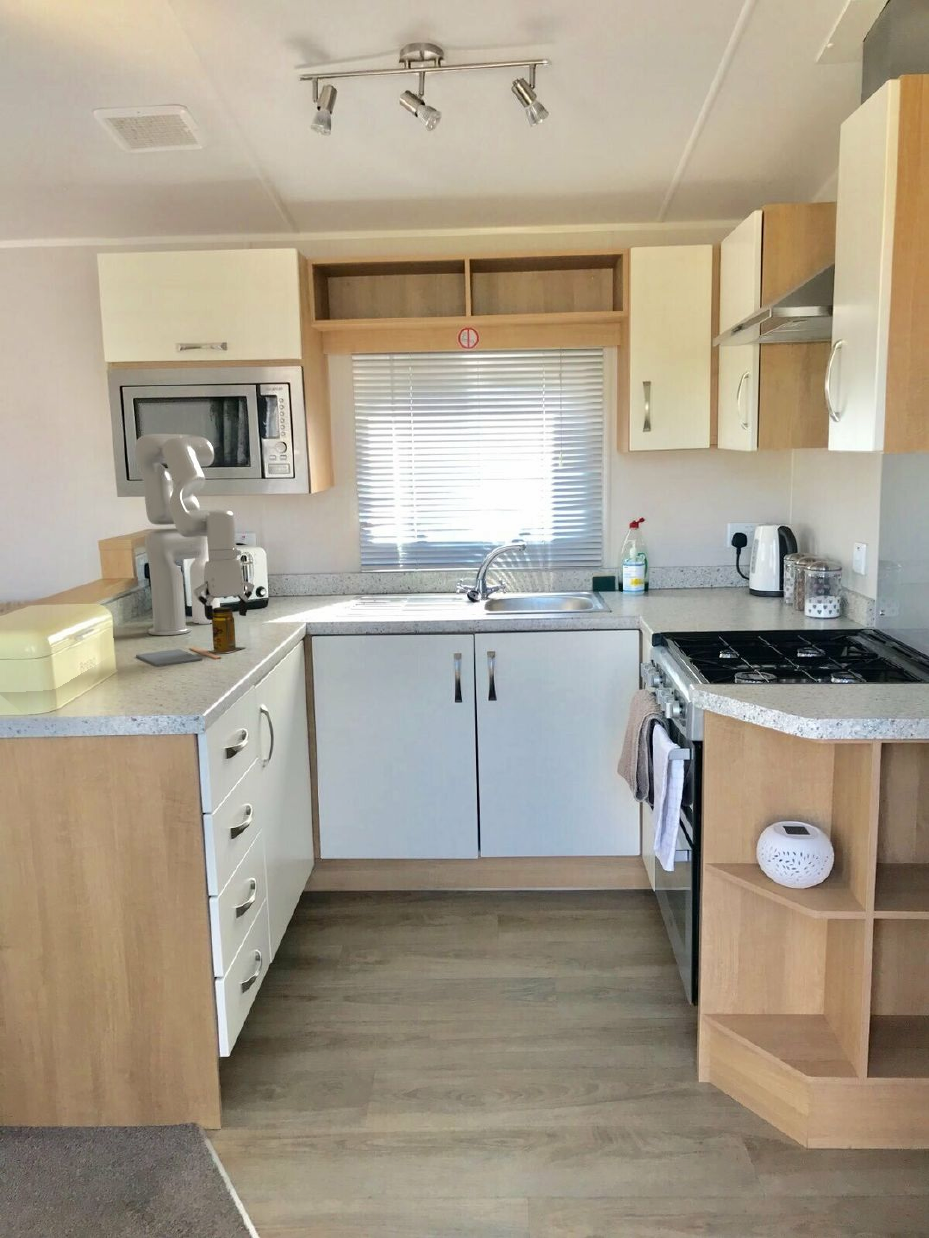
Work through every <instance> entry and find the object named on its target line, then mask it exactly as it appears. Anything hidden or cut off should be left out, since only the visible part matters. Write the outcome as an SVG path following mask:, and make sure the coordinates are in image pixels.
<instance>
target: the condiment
mask: <svg viewBox="0 0 929 1238" xmlns="http://www.w3.org/2000/svg"><path fill="white" fill-rule="evenodd" d="M235 626H236V625H235V617H234V614H233V608H232V607H231V606H220V607H217V608H214V609H213V620H212V624H211V629H212V642H213V643H212V645H213V647H212V648H213V649H211V650H209V653H210V652H211V653H219V654H222V653H223V654H224V653H227V654H229V653H233V652H234V653H235V652H237V651H239V650H242V649H245V648H246V646H236V645H237V643H236V627H235Z"/></svg>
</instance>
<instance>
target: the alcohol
mask: <svg viewBox="0 0 929 1238" xmlns="http://www.w3.org/2000/svg"><path fill="white" fill-rule="evenodd" d="M203 539H204V550H203V553H202V555H201V556H200V557H198V558H194V559H193V561H192V562H191V564H190V567H189V568H190V569H189V579H190V597H191V611H192V612H191V613H192V621H193V623H194V624H195V623H199V624H198V625H211V624H210V623H212V620H208V619H207V618H206V617H205V610H204V605H203V604H202V603H201V602H200V601H199V600H198V599H197V597H196V595H195V594H194V590H195V589H197V588H198V587H200V586H201V585H203V584H204V570H205V563H206V562H207V561H209V559H208V543H207V537H203ZM201 594H202V596H203V597H204V598H205V597H206V596H205V594H204V591H202V592H201ZM220 599H221V598H214V600H213V601H212V602H211V605H212V607H213V609H214V608H217V607H221V604H220V603H221V602H220Z"/></svg>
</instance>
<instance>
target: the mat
mask: <svg viewBox="0 0 929 1238" xmlns="http://www.w3.org/2000/svg"><path fill="white" fill-rule="evenodd" d="M135 655H136V656H135V657H136V658H138V659H139V660H142V661H144V662H147V663H149V664H151V665H153V666H156V667H164V666H171V665H178V664H185V663H193V662H200V660H201V661H202V660H203V658H202V657H201V656H197V655H196V654H193V653H190V652H188V651H186V650H183V649H180V648H178V649H170V650H160V651H154V652H146V653H138V654H135Z"/></svg>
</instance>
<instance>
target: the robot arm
mask: <svg viewBox="0 0 929 1238" xmlns="http://www.w3.org/2000/svg"><path fill="white" fill-rule="evenodd" d="M134 445H135V446H134V457H135V462H136V465H137V468H138V470H139V472H140V475H141V478H142V483H143V484H142V485H143V493H144V495H143V496H144V500H145V502H144V503H145V509H146V516H147V520H148V521H149V522H150V523H151V524H153V525H158V526H163V525H167V526H168V525H174V526H175V528H163V529H155V530H153V531H150V532H149V533H148V534H147V535H146V536H145V539H144V550H145V553H146V556H147V562H148V567H149V579H150V590H151V603H152V604H151V605H152V606H151V607H152V620H153V624H152V625H153V627H150V628H149V629H148V633H149V635H153V636H154V635H155V636H173V635H183V634H187V633H190V632H191V631H192V627H191V626H190V625H187V624H186V623H187V622H186V609H185V607H186V606H185V590H184V589H185V587H184V575H183V572H182V571H181V569H180V567H178V565H177V564H176V563H175V561H178V560H179V561H180V560H182V561H183V560H190V559H191V560H192V559H193V560H194V559H195V558H198V557H200V556H201V555H202V553H203V550H204V539H203V537H207V543H208V559H209V561H207V562H206V563H205V570H204V584H203V585H201V586H200V587H198V588H197V589H195V590H194V594H195V595H196V597H197V599H198V600H199V601H200V602H201V603H202V604H203V605H204V610H205V617H206V618H207V619H208V620H213V607H212V605H211V602H212V601H213V600H214V598H219V599H221V598H228V597H229V598H231V597H237V598H238V599H239V600H238V614H239V616H241V617H247V613H248V605H247V602H249V600H250V599H249V598H250V597H252V595H253V592H254V590H255V584H253V583H251V582H248V581H246V580H245V579H244V577H243V571H242V567H241V563H240V560H239V559H238V556H241V554H242V551H241V550H239V549H237V543H236V542H237V541H236V524H235V514H234V513H233V511H231V510H228V509H227V510H226V509H225V510H222V509H218V508H217V509H213V508H212V509H211V508H209V509H201V506H200V503H199V500H198V498H197V497H196V496H195V494H196V493H198V492H199V491H201V490H202V489H203V488H204V487H205V484H206V482H207V481H206V477H205V474H204V472H203V469H202V468H203V467H210V465H212V464H213V462H214V460H215V450H214V447H213V445H212V443H211V442H210V441H209V440H208V439H207V438H206V437H201V436H198V435H194V434H188V433H187V434H183V433H181V434H179V433H177V434H176V433H173V434H171V433H151V434H145V435H141V436H139V437H138V439H137V440H136V441H135V444H134ZM163 464H166V466H167V468H168V470H169V471H168V470H167V468H166V467H165V466H164V465H163ZM173 484H174V485H173ZM174 486H175V487H174ZM245 587H246V588H247V589H246V591H245ZM202 591H204V594H205V596H206V597H205V598H204V597H203V596H202V594H201V592H202ZM244 592H245V593H244Z"/></svg>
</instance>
